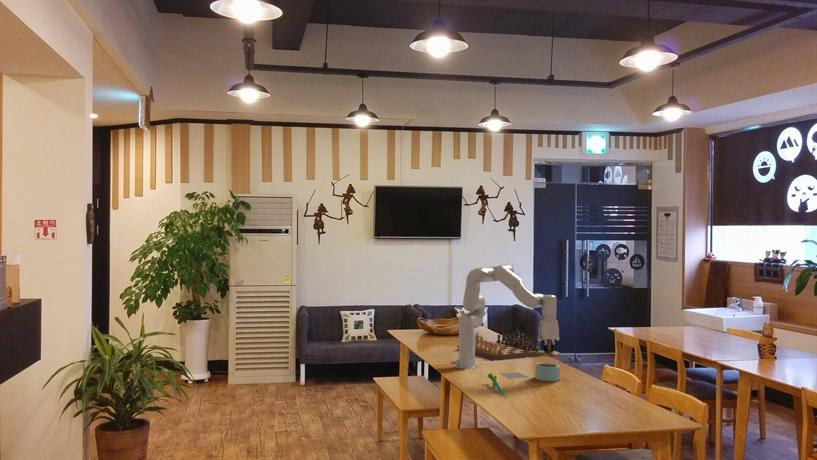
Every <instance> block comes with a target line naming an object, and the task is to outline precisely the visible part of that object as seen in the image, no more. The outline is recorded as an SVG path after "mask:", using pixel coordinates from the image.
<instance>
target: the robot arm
mask: <svg viewBox="0 0 817 460" xmlns="http://www.w3.org/2000/svg"><path fill="white" fill-rule="evenodd" d="M465 280H466V281H465V289H464V294H463V300H462V301H463V302H462V306H463V309H464V310H465V311H467V312H465V313H462V314H461V315H460V316H459V317H458V320H457V326H458V345H459V350H458V358H457V359H456V360H450V362H449V363H450V365H455V367H456V368H457V369H460V370H472V369H473V370H474V369H478V365H477V364H476V355H475V335H476V332H475V329H477V328H480V327H481V325H482V324H483V321H484V317H485V309H486V299H485V297H484V296H483V295H482V294H480V293H481V292H480V291H481V285H480V284H481V283H489V282H492V283H493V282H497V281H498V282H499V283H501V284H503V286H505V287H506V288H508V289H509V290H510V291H511V293H512V294H513V295H514V297H515V298H516V299H517V300H518V301H519V302H520V303H521V304H523V305H524V306H526V307H527V308H529V309H536V308H541V315H540V316H539V319H541V320H540V323H539V328H538V329H539V331H538V336H537V340H536V341H538V342H540V343H542V346H543V347H542V349H543V350H542V351H544V352H548V345H547V343H548V340H549V341H550V342H549V343H551V352H553V351H555V350H554V348H555V346H554V345H555V344H556V343H557V342H558V341H560V328H559V322H558V320H557V296H556V295H553V294H542V293H531V292H530V291H528V290H527V289H526V288H525V286H524V285H523V280H522V278H520V276H519V275H517V274H515V269H514V268H513V267H512V266H511V265H509V264H499V265H496V266H487V267H486V266H485V267H483V266H482V267H476V268H474V269H471V270H470V271H469V272H468V274H467V276H466V279H465Z"/></svg>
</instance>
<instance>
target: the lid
mask: <svg viewBox="0 0 817 460" xmlns="http://www.w3.org/2000/svg"><path fill="white" fill-rule="evenodd" d="M547 345H548V352H544V350H541V351H537V355H540V356H539V357H551V358H552V357H560V356H561V352H559V351H555V350H553V352H551V343H550V342H547Z"/></svg>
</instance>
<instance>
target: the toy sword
mask: <svg viewBox="0 0 817 460" xmlns="http://www.w3.org/2000/svg"><path fill="white" fill-rule="evenodd" d="M487 378H488V379H490V380H491V381H492V388H497V389H498V391H499V392H500V393H501V394H502V396H503V397H504V398H506V395H505V394H504V392H503V390H502V389H501V387H500V385H499V383H498V381H497V375H493V373H491V372H489V373H488V374H487Z"/></svg>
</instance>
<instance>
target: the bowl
mask: <svg viewBox="0 0 817 460" xmlns="http://www.w3.org/2000/svg"><path fill="white" fill-rule="evenodd" d="M534 367H535V368H534V369H535V370H534V371H535V372H534V379H536V380H537V381H540V382H541V381H542V382H551V383H552V382H553V383H554V382H559V381H560V380H561V365H559V364H557V363H551V362H538V363H535V366H534Z"/></svg>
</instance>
